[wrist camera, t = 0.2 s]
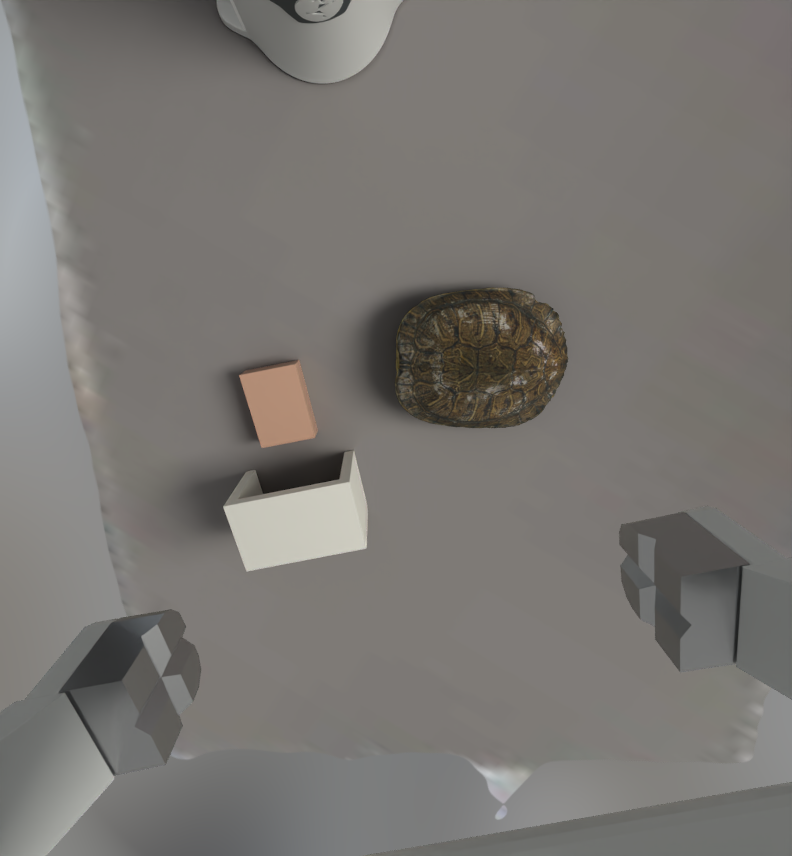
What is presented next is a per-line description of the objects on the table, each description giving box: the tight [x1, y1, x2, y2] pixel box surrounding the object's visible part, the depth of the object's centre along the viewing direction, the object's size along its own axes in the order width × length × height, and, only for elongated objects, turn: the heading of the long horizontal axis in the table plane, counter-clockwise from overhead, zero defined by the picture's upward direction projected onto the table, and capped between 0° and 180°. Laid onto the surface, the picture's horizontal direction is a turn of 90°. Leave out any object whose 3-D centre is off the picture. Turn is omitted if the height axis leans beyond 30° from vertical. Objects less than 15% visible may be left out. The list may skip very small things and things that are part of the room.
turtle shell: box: [395, 288, 568, 428], centre depth 52 cm, size 16×9×20 cm
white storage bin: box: [223, 450, 368, 571], centre depth 55 cm, size 8×14×9 cm, turn 101°
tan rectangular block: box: [239, 360, 318, 448], centre depth 55 cm, size 9×6×3 cm
